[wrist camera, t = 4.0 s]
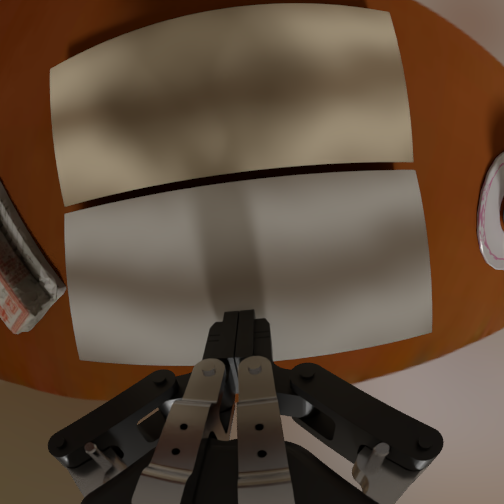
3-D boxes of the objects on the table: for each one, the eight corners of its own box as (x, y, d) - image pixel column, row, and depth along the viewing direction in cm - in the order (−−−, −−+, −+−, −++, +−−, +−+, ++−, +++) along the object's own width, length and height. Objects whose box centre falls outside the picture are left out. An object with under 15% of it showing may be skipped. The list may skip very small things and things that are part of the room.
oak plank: (70, 74, 14) (50, 69, 11) (374, 25, 13) (389, 12, 10) (84, 198, 18) (64, 206, 15) (394, 158, 16) (413, 162, 14)
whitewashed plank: (84, 219, 17) (64, 214, 15) (399, 180, 16) (415, 169, 14) (98, 350, 17) (79, 359, 15) (414, 324, 16) (431, 332, 13)
